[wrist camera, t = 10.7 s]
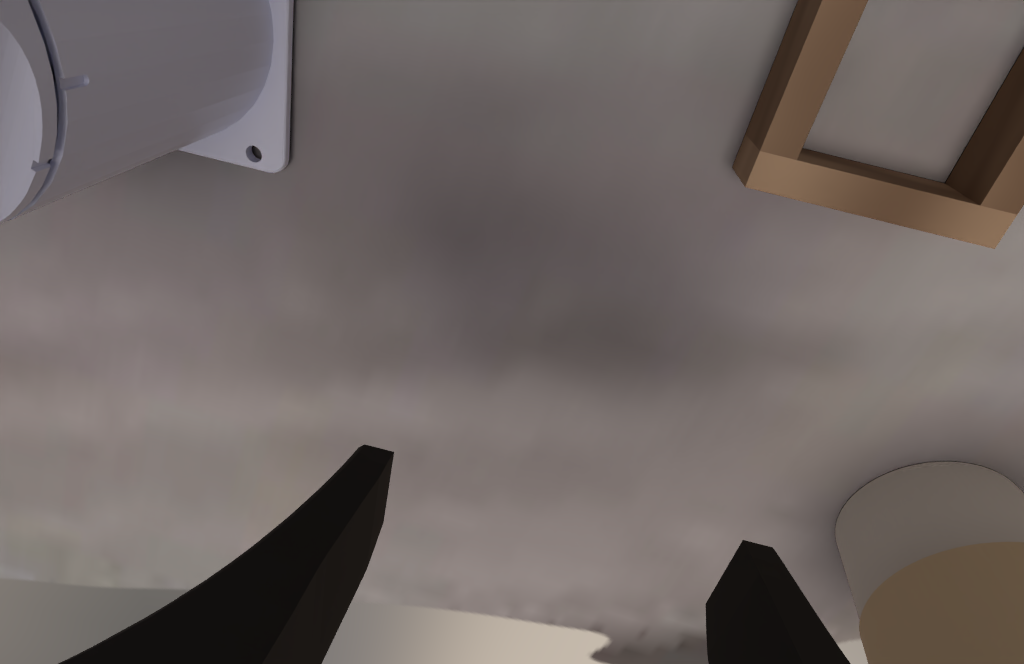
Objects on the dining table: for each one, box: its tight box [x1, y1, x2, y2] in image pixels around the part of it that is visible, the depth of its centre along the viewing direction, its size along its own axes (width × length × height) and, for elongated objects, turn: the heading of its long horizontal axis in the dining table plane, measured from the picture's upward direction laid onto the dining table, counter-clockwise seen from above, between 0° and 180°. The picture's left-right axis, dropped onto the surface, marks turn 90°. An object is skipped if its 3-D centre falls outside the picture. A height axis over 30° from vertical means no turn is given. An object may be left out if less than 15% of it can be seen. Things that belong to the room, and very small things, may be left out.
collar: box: [732, 0, 1024, 249], centre depth 16 cm, size 7×7×2 cm
